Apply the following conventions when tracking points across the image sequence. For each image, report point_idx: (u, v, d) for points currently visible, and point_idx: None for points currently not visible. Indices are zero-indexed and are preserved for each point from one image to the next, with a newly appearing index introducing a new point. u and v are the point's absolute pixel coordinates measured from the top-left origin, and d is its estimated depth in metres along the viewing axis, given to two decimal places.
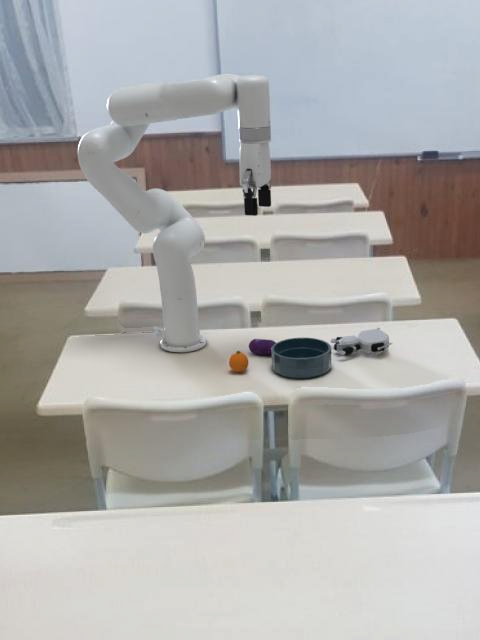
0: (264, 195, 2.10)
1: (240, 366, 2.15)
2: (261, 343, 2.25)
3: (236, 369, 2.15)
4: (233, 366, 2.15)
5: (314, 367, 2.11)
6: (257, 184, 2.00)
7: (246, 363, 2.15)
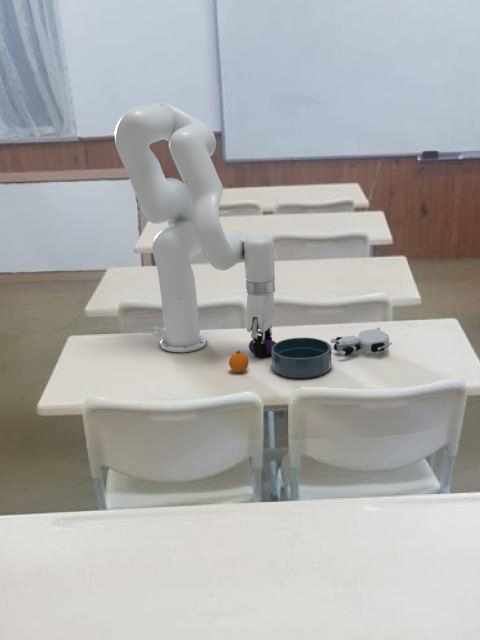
0: None
1: (240, 366, 2.15)
2: None
3: (236, 369, 2.15)
4: (233, 366, 2.15)
5: (314, 367, 2.11)
6: (262, 330, 2.19)
7: (246, 363, 2.15)
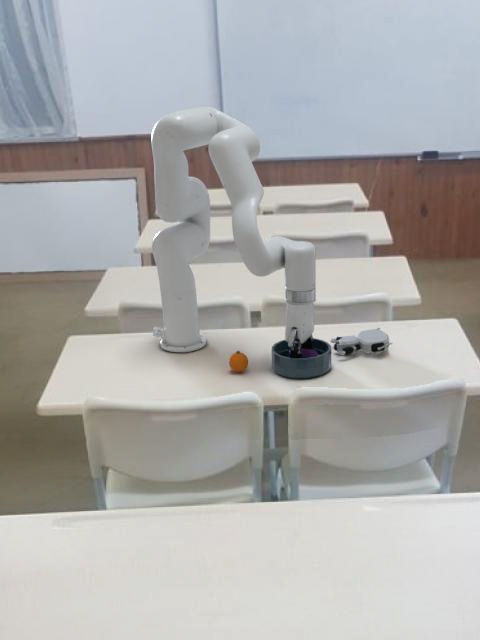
0: (306, 347, 2.20)
1: (240, 366, 2.15)
2: (302, 353, 2.16)
3: (236, 369, 2.15)
4: (233, 366, 2.15)
5: (314, 367, 2.11)
6: (302, 341, 2.10)
7: (246, 363, 2.15)
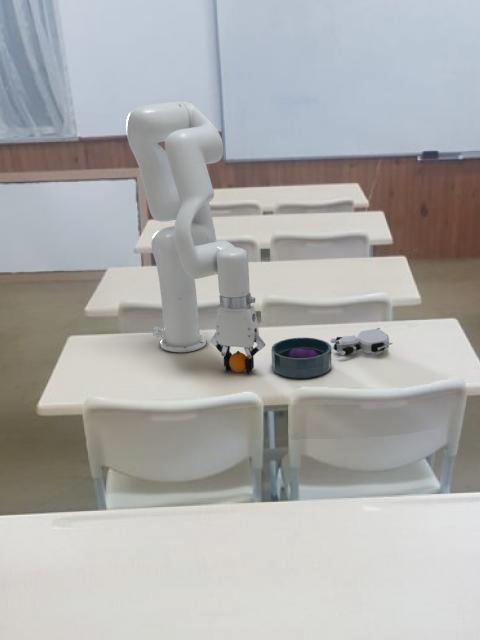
0: None
1: (240, 366, 2.15)
2: (301, 354, 2.16)
3: (236, 369, 2.15)
4: (233, 366, 2.15)
5: (314, 367, 2.11)
6: (217, 341, 2.13)
7: None
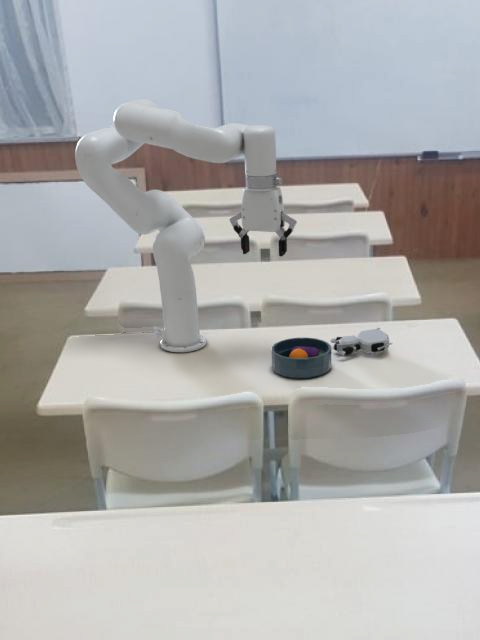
0: None
1: (300, 355, 2.13)
2: (305, 347, 2.18)
3: None
4: (293, 356, 2.14)
5: (314, 367, 2.11)
6: None
7: (306, 356, 2.14)
